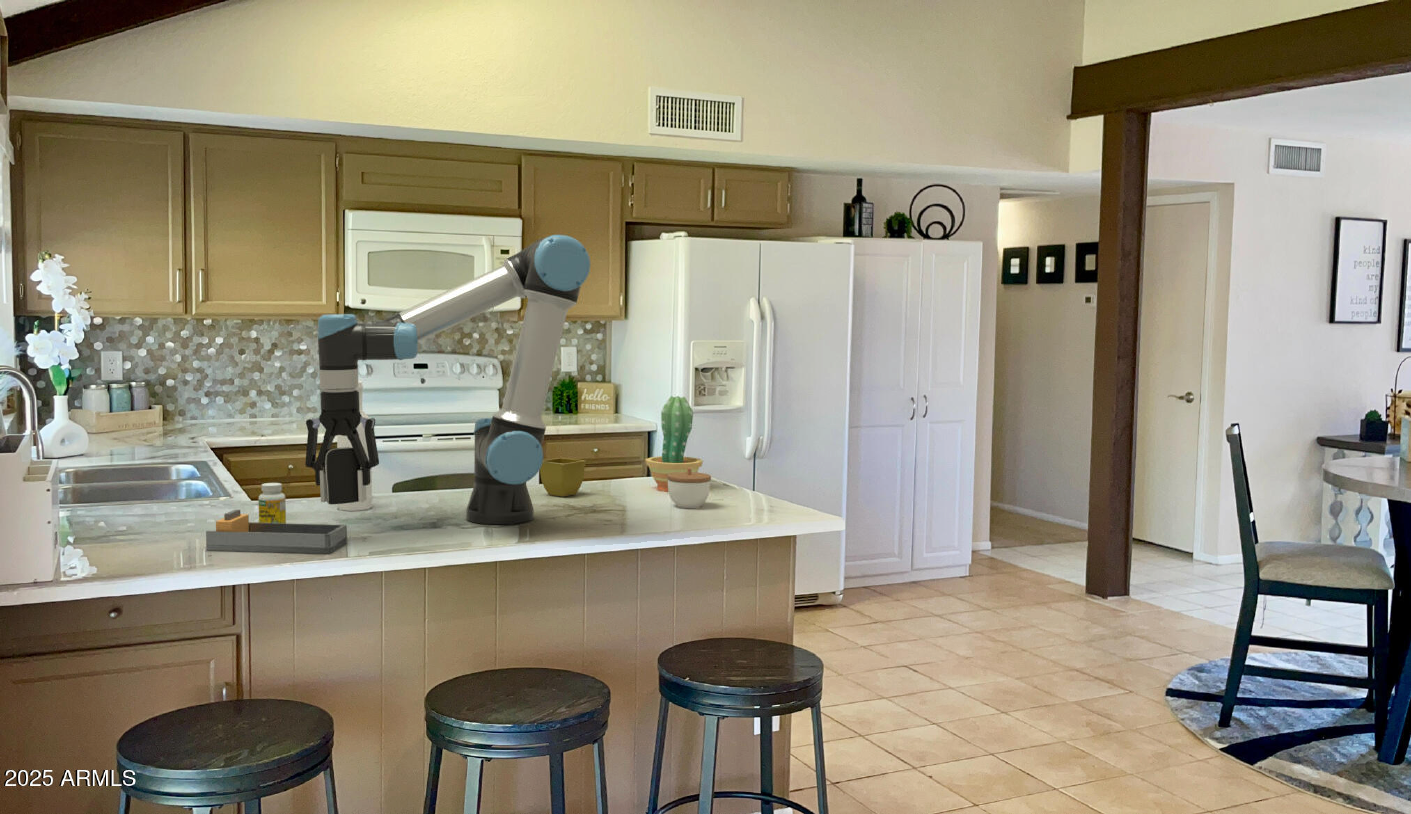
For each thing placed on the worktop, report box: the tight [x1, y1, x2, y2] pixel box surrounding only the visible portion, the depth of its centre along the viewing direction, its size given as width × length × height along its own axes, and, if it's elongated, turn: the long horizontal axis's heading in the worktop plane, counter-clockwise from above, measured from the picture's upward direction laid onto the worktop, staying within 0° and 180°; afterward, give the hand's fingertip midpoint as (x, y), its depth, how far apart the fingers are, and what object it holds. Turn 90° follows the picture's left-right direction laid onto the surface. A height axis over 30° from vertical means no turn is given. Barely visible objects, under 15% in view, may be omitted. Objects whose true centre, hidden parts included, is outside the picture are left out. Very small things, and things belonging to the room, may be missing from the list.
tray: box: [205, 521, 348, 555], centre depth 226 cm, size 24×10×4 cm, turn 89°
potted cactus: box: [645, 395, 704, 493], centre depth 306 cm, size 15×15×25 cm
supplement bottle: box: [258, 482, 287, 523], centre depth 243 cm, size 5×5×10 cm
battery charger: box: [323, 447, 361, 506], centre depth 235 cm, size 7×4×11 cm, turn 124°
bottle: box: [336, 380, 373, 512], centre depth 268 cm, size 8×8×30 cm
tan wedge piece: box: [215, 509, 250, 532], centre depth 226 cm, size 3×8×5 cm, turn 179°
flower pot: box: [539, 457, 586, 498], centre depth 293 cm, size 9×9×9 cm
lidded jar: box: [667, 468, 712, 509], centre depth 282 cm, size 11×11×9 cm
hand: (343, 500), depth 235 cm, fingers closed on battery charger, 7 cm apart
